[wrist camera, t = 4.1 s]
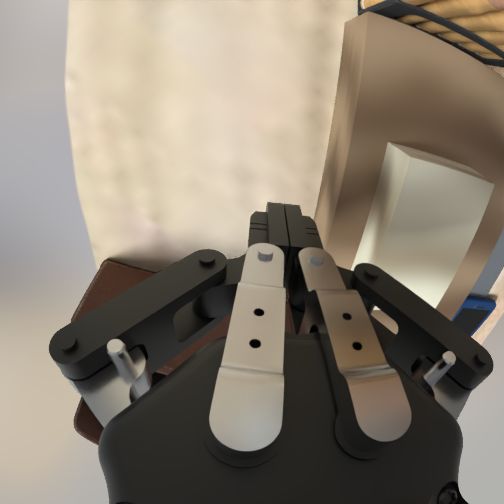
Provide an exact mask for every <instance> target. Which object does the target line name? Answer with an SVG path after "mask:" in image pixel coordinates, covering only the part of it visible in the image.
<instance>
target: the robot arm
mask: <svg viewBox="0 0 504 504" xmlns="http://www.w3.org/2000/svg"><path fill="white" fill-rule="evenodd" d="M286 293H289V299H288V303H287V311H288V317H289V322H290V328H291V333H288V332H284V331H285V297H286ZM375 306H376V307H377V308H379V309H380V310H381V311H383V312H384V313H385V314H386V315H388V316H389V317H390V318H391V319H393V320H394V321H395V322H396V323H397V325H398V333H397V334H394V333H393V332H392V331H390V330H389V329H388V328H387V327H385V326H384V325H383V324H382V323H380V322H379V321H378V320H377V319H376V318H374V317H373V316H372V315H371V313H372V311H373V309H374V307H375ZM227 315H231V320H230V325H229V330H228V335H226V336H223V337H220V338H217V339H215V340H213V341H210V342H209V343H207V344H206V345H204V346H203V347H201V348H200V349H199V350H198V351H196V352H195V353H194V354H193V355H192V356H190V357H189V358H188V359H187V360H185V361H184V362H183V363H182V364H181V365H179V366H178V367H177V368H176V369H174V370H173V371H172V372H171V373H170V374H168V375H167V376H166V377H165V378H163V379H162V380H161V381H160V382H158V383H157V384H156V385H155V386H153V387H152V388H151V389H150V387H151V385H152V375H151V374H153V373H154V372H156V371H157V370H158V369H160V368H161V367H163V366H164V365H165V364H167V363H168V362H169V361H171V360H172V359H173V358H175V357H176V356H177V355H179V354H180V353H182V352H183V351H184V350H186V349H187V348H188V347H190V346H191V345H192V344H194V343H195V342H196V341H198V340H199V339H200V338H202V337H203V336H204V335H205V334H207V333H208V332H209V331H211V330H212V329H213V328H215V327H216V326H217V325H219V324H220V323H221V322H222V321H223V320H224V318H225V316H227ZM49 352H50V355H51V357H52V358H53V360H54V361H55V362H56V364H57V365H58V367H59V368H60V369H61V372H62V374H63V375H64V376H65V378H66V379H67V380H68V381H69V383H70V384H71V385H72V386H73V387H74V388H75V390H76V391H77V392H78V393H79V394H81V395H82V397H83V399H84V400H85V402H86V403H87V405H88V406H89V408H90V409H91V410H92V412H93V413H94V415H95V416H96V418H97V419H98V420H99V422H100V423H101V424H102V426H103V427H104V430H103V432H102V434H101V437H100V440H99V447H98V448H99V449H98V453H99V460H100V464H101V467H102V470H103V473H104V476H105V479H106V483H107V488H108V494H109V504H468V503H467V502H466V501H465V500H464V499H463V498H462V496H461V494H460V492H459V487H458V472H459V464H460V458H461V453H462V448H463V437H462V432H461V429H460V426H459V424H458V423H457V421H456V420H457V419H458V417H459V415H460V413H461V411H462V409H463V407H464V405H465V403H466V401H467V399H468V397H469V395H470V393H471V392H472V391H473V390H474V389H475V388H476V387H477V386H478V385H479V384H480V383H481V382H482V381H483V380H484V379H485V378H486V377H488V376H489V375H490V373H491V372H492V370H493V360H492V358H491V356H490V354H489V353H488V351H487V350H486V349H485V348H484V347H482V346H481V345H480V344H479V343H478V342H476V341H475V340H474V339H473V338H472V337H470V336H469V335H468V334H467V333H465V332H464V331H463V330H462V329H460V328H459V327H458V326H457V325H455V324H454V323H453V322H452V321H450V320H449V319H448V318H447V317H445V316H444V315H443V314H441V313H440V312H439V311H438V310H436V309H435V308H434V307H432V306H431V305H430V304H428V303H427V302H426V301H424V300H423V299H422V298H420V297H419V296H418V295H416V294H415V293H414V292H412V291H411V290H410V289H408V288H407V287H406V286H404V285H403V284H402V283H400V282H399V281H397V280H396V279H395V278H393V277H392V276H390V275H389V274H388V273H386V272H385V271H383V270H382V269H381V268H379V267H377V266H375V265H373V264H370V263H360V264H357V265H356V266H355V268H354V271H352V270H348V269H345V268H342V267H339V266H337V265H336V263H335V261H334V259H333V257H332V256H331V255H330V254H329V253H328V252H327V251H325V250H324V248H323V245H322V242H321V238H320V235H319V232H318V230H317V226H316V223H315V222H314V221H313V220H312V219H311V218H310V217H309V216H302V213H301V209H300V206H299V205H291V204H284V205H283V204H281V203H271V202H267V208H266V212H257V211H255V212H254V213H253V214H252V215H251V218H250V229H249V240H248V249H247V252H246V253H245V254H244V255H243V256H241V257H239V258H235V259H229V260H227V259H226V257H225V256H224V255H223V254H222V253H221V252H219V251H216V250H210V249H205V250H199V251H196V252H194V253H192V254H190V255H189V256H187V257H185V258H183V259H181V260H180V261H178V262H176V263H174V264H172V265H171V266H169V267H167V268H165V269H163V270H162V271H160V272H158V273H156V274H154V275H153V276H151V277H149V278H147V279H146V280H144V281H142V282H140V283H139V284H137V285H135V286H133V287H131V288H130V289H128V290H126V291H124V292H123V293H121V294H119V295H118V296H116V297H114V298H112V299H111V300H109V301H107V302H105V303H104V304H102V305H100V306H99V307H97V308H95V309H93V310H92V311H90V312H88V313H87V314H85V315H83V316H82V317H80V318H78V319H77V320H75V321H73V322H72V323H70V324H68V325H67V326H65V327H63V328H62V329H60V330H59V331H57V332H56V333H55V334H54V336H53V337H52V339H51V341H50V344H49Z"/></svg>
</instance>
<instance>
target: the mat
mask: <svg viewBox="0 0 504 504" xmlns="http://www.w3.org/2000/svg"><path fill="white" fill-rule="evenodd" d="M503 267H504V228H503V230H502V233H501V235H500V237H499V239H498V241H497V243H496V245H495V247H494V249H493V251H492V253H491V255H490V257H489V259H488V261H487V263H486V265H485V267H484V269H483V270H482V272H481V274H480V276H479V278H478V279H477V281H476V283H475V284H474V286H473V288H472V289H471V291H470V293H469V294H468V296H471V297H478V298H484V299H485V297H486V296H487V294H488V293H489V291H490V289H491V288H492V286H493V284H494V283H495V281H496V279H497V278H498V276H499V274H500V272H501V271H502V269H503Z"/></svg>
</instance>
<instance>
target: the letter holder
mask: <svg viewBox="0 0 504 504" xmlns="http://www.w3.org/2000/svg"><path fill="white" fill-rule="evenodd" d="M154 274H156V273H153V272H149V271H145V270H141V269H138V268H134V267H131V266H127V265H123V264H120V263H117V262H113V261H109V260H104V261H103V263H102V264H101V266H100V269H99V270H98V272H97V274H96V275H95V277H94V279H93V281H92V282H91V284H90V286H89V288H88V289H87V291H86V293H85V294H84V296H83V298H82V300H81V302H80V304H79V305H78V307H77V309H76V311H75V313H74V315H73V317H72V319H71V323H72V322H73V321H75V320H77V319H78V318H80V317H82V316H83V315H85V314H87V313H88V312H90V311H92V310H93V309H95V308H97V307H99V306H100V305H102V304H104V303H105V302H107V301H109V300H111V299H112V298H114V297H116V296H118V295H119V294H121V293H123V292H124V291H126V290H128V289H130V288H131V287H133V286H135V285H137V284H139V283H140V282H142V281H144V280H146V279H147V278H149V277H151V276H153V275H154ZM230 320H231V315H227V316H225V318H224V320H223V321H222V322H221V323H220V324H219V325H217V326H216V327H215V328H213V329H212V330H211V331H209V332H208V333H207V334H205V335H204V336H203V337H202V338H200V339H199V340H198V341H196V342H195V343H194V344H192V345H191V346H190V347H188V348H187V349H186V350H184V351H183V352H182V353H180V354H179V355H177V356H176V357H175V358H173V359H172V360H171V361H169V362H168V363H167V364H165V365H164V366H163V367H161V368H160V369H158V370H157V371H156V372H154V373H153V374H151V375H152V385H151V387H150V389H151V388H152V387H153V386H155V385H156V384H157V383H158V382H160V381H161V380H162V379H163V378H165V377H166V376H167V375H168V374H170V373H171V372H172V371H173V370H174V369H176V368H177V367H178V366H179V365H181V364H182V363H183V362H184V361H185V360H187V359H188V358H189V357H190V356H192V355H193V354H194V353H195V352H196V351H198V350H199V349H200V348H201V347H203V346H204V345H206V344H207V343H209V342H210V341H213V340H215V339H217V338H220V337H223V336H226V335H228V330H229V325H230ZM284 332H288V333H291V328H290V322H289V317H288V311H287V305H285V331H284ZM74 427H75V430H76V431H77V432H78V433H79V434H80V435H82V436H83V437H84V438H86V439H88V440H89V441H91V442H93V443H95V444H97V445H99V440H100V437H101V434H102V432H103V430H104V427H103V426H102V424H101V423H100V422H99V420H98V419H97V418H96V416H95V415H94V413H93V412H92V410H91V409H90V408H89V406H88V405H87V403H86V402H85V400H84V399H83V397H81V400H80V403H79V405H78V408H77V411H76V414H75V417H74Z"/></svg>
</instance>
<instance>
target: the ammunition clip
mask: <svg viewBox="0 0 504 504" xmlns="http://www.w3.org/2000/svg"><path fill="white" fill-rule="evenodd" d="M368 11H369V12H372V13H375V14H379V15H382V16H385V17H387V18H390V19H393V20H396V21H398V22H401V23H404V24H406V25H409V26H411V27H413V28H416V29H418V30H421V31H423V32H425V33H427V34H429V35H432V36H434V37H436V38H438V39H440V40H442V41H444V42H446V43H448V44H450V45H452V46H454V47H455V48H457V49H459V50H461V51H463V52H464V53H466V54H468V55H470V56H471V57H473V58H475V59H476V60H478V61H480V62H482V63H484V64H486V65H493V66H499V67H504V0H358V15H359V16H360V15H362V14H364V13H366V12H368Z"/></svg>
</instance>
